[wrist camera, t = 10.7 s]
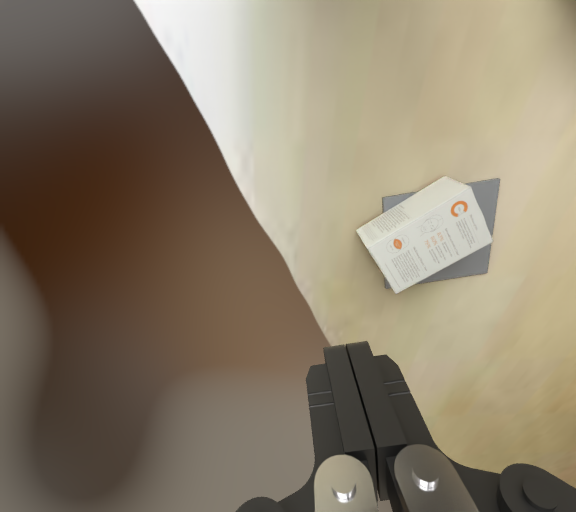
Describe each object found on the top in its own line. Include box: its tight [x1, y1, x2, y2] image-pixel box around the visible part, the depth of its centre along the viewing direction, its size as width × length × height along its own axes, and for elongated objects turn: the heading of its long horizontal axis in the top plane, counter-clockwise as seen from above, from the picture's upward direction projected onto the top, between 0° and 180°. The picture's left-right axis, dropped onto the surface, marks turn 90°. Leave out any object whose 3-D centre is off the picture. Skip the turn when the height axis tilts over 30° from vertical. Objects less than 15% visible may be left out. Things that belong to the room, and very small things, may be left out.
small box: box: [356, 176, 493, 294], centre depth 40 cm, size 8×6×13 cm
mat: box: [382, 178, 500, 289], centre depth 44 cm, size 14×15×1 cm
